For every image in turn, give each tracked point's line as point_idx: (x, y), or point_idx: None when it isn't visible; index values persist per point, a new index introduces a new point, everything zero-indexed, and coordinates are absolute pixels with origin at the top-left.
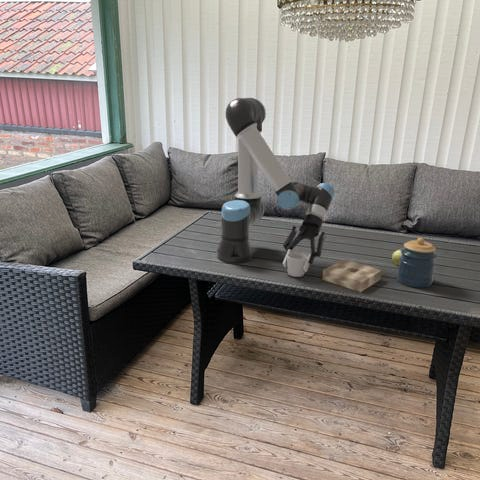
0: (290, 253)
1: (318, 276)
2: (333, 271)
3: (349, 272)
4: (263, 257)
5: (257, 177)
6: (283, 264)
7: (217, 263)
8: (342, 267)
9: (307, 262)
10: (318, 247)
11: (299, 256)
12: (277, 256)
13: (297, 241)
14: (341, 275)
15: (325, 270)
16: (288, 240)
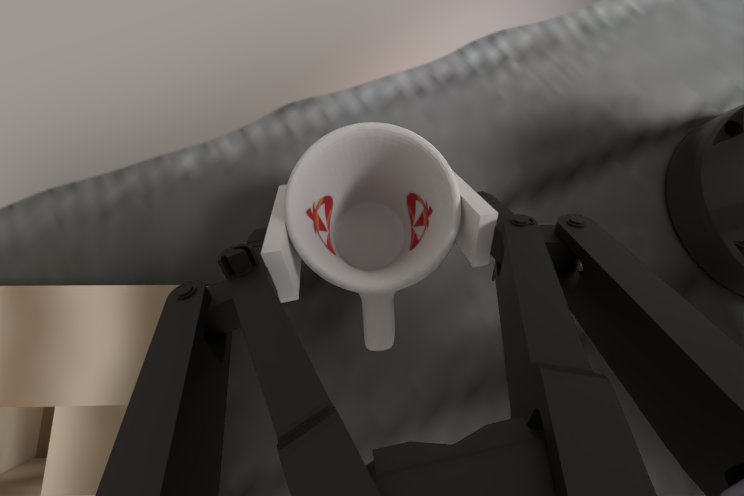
0: (451, 209)
1: None
2: (118, 312)
3: (9, 384)
4: None
5: None
6: None
7: (723, 82)
8: (92, 438)
9: (273, 209)
10: (175, 343)
11: (393, 271)
12: (628, 400)
13: (513, 331)
14: (40, 288)
15: (172, 286)
16: (607, 266)
